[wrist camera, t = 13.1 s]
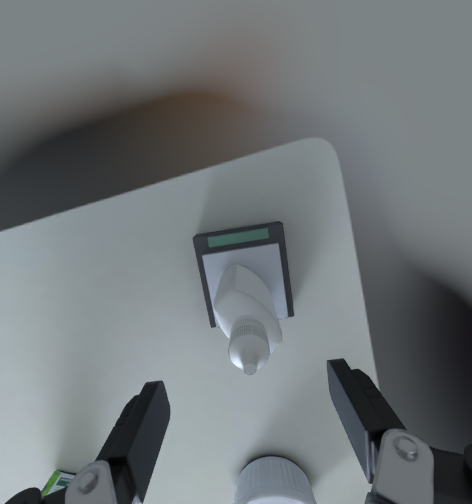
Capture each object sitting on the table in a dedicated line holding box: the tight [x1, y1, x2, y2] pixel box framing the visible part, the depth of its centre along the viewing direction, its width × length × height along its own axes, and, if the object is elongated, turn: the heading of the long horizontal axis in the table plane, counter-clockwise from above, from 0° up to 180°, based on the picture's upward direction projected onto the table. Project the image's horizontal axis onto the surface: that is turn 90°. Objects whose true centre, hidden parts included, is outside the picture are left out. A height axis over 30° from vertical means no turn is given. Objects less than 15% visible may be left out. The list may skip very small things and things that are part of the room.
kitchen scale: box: [193, 221, 294, 328], centre depth 26 cm, size 10×9×3 cm
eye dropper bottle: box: [214, 264, 282, 375], centre depth 19 cm, size 4×6×12 cm
